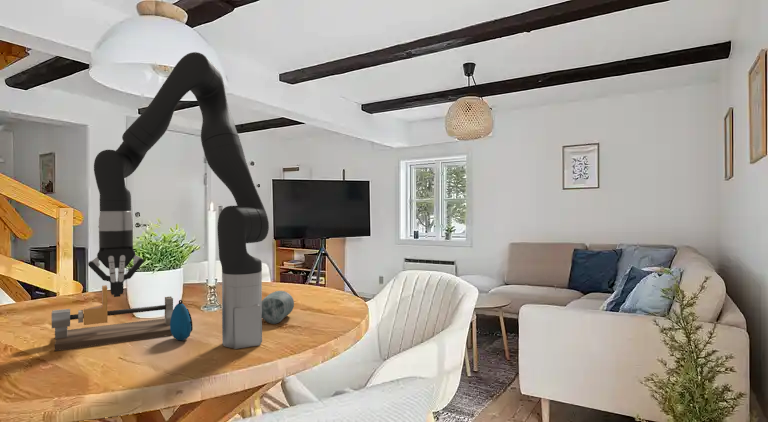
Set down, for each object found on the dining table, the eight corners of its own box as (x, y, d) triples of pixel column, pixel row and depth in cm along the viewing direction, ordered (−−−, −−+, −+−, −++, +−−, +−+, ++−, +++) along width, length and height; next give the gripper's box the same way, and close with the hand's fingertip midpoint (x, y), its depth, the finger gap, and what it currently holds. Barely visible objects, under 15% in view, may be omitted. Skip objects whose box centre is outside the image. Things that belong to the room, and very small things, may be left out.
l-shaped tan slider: (107, 322, 117) (107, 287, 117) (83, 325, 114) (83, 289, 114) (106, 319, 120) (106, 285, 120) (83, 322, 118) (83, 287, 117)
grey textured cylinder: (288, 315, 128) (275, 282, 131) (257, 330, 129) (246, 297, 132) (306, 316, 141) (294, 286, 144) (278, 329, 142) (267, 299, 145)
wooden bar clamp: (177, 334, 121) (177, 301, 121) (50, 351, 107) (50, 314, 107) (169, 323, 133) (169, 293, 133) (53, 337, 118) (53, 303, 118)
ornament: (196, 341, 114) (196, 301, 114) (177, 345, 111) (176, 303, 111) (185, 334, 121) (185, 296, 121) (166, 338, 118) (166, 298, 117)
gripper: (85, 230, 113) (86, 301, 113) (146, 228, 120) (147, 295, 120) (85, 229, 119) (86, 296, 120) (143, 227, 126) (144, 291, 127)
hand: (117, 296), depth 120 cm, fingers closed
